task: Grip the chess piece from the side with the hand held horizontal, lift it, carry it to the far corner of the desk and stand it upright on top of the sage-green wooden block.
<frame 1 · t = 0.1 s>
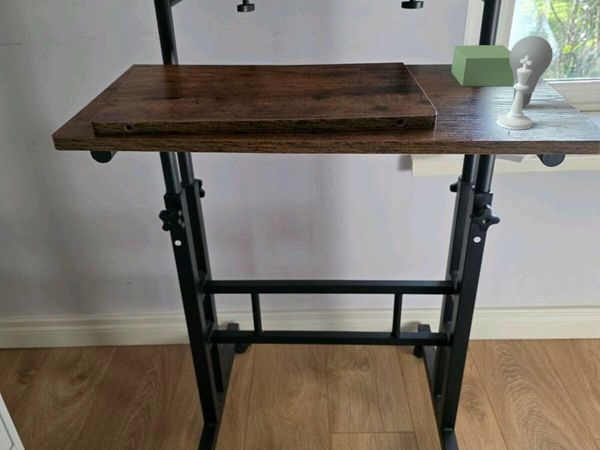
lightbulb: (519, 108, 86), on the table
chess piece: (513, 125, 80), on the table
green block: (480, 78, 99), on the table
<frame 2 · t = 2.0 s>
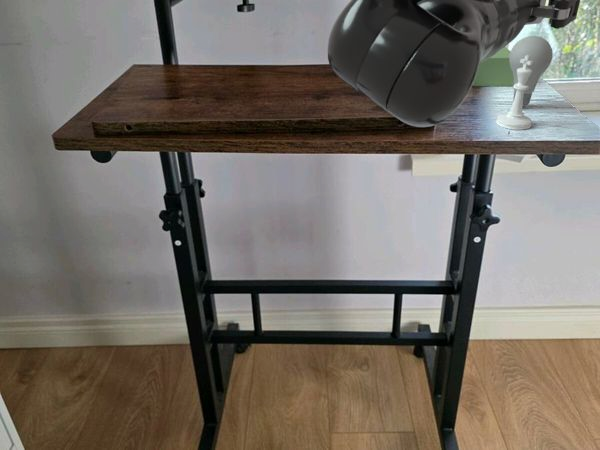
nothing on the table moved.
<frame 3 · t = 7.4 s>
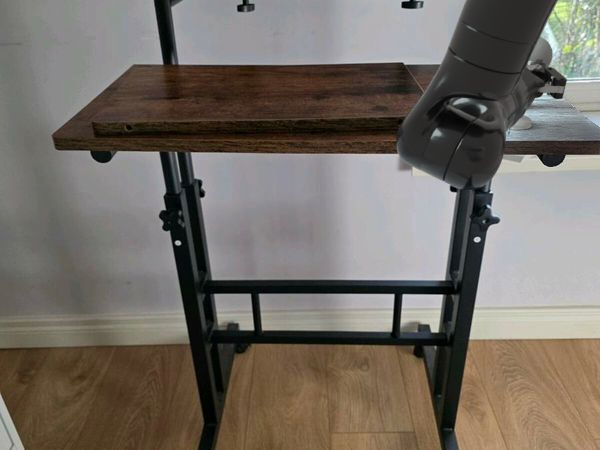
hand: (529, 65, 78), 8 cm above the table, tool horizontal, fingers closed on chess piece
chess piece: (513, 125, 80), on the table, touching gripper
everything else where it was.
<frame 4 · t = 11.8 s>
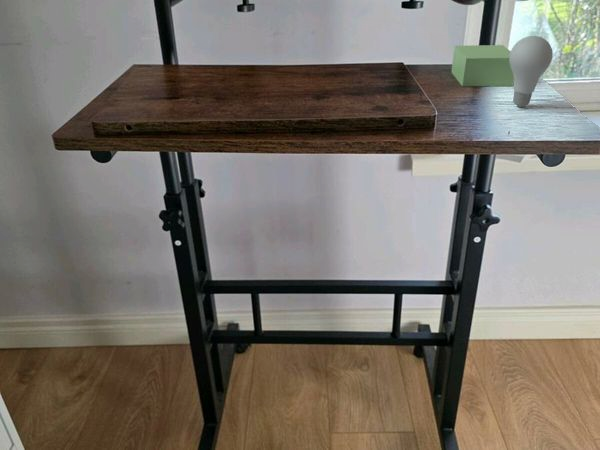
chess piece: (513, 0, 81), point 16 cm above the table, touching gripper
everything else where it was.
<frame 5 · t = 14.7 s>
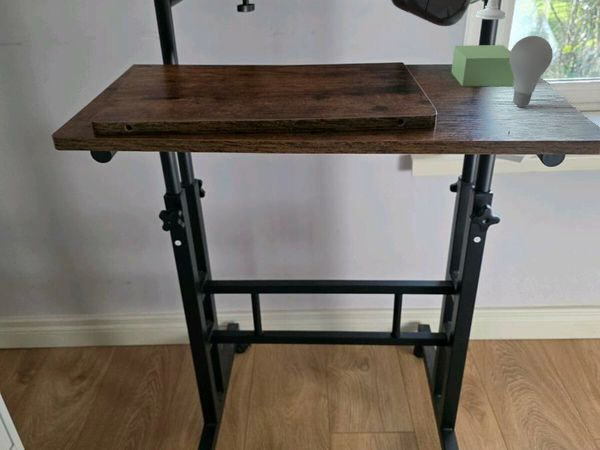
chess piece: (489, 18, 93), point 11 cm above the table, touching gripper
everything else where it was.
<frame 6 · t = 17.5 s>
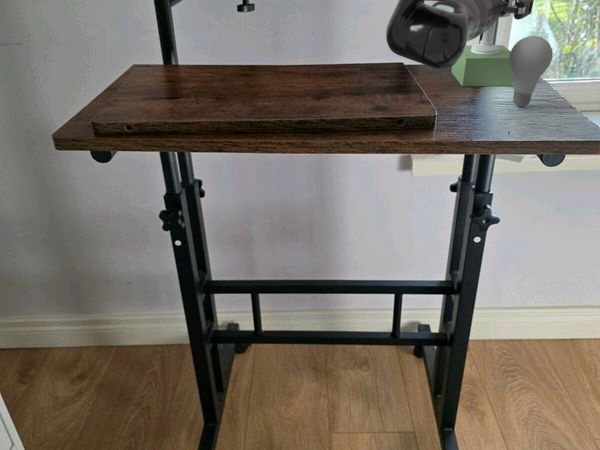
chess piece: (484, 52, 96), point 5 cm above the table, touching green block
green block: (480, 78, 99), on the table, touching chess piece
everything else where it was.
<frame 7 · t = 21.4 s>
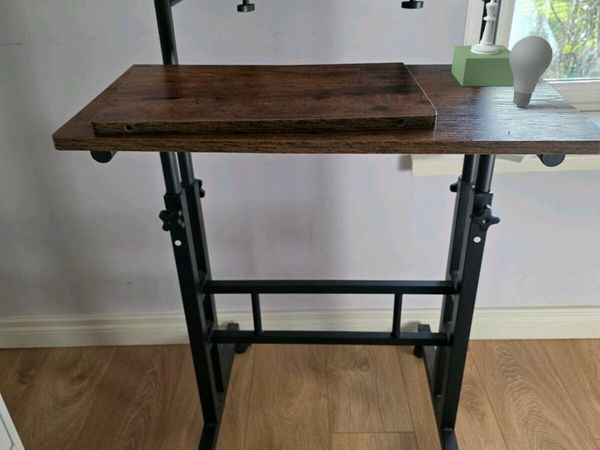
nothing on the table moved.
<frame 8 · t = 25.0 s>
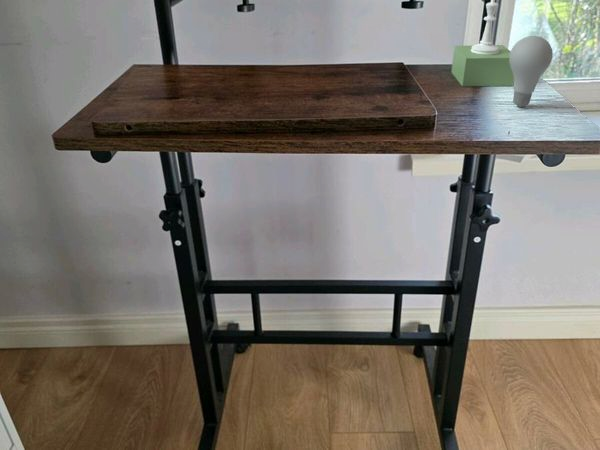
nothing on the table moved.
at the end: chess piece 0.2 cm off-centre on the green block, point 4.8 cm above the green block's base; chess piece tilted 0°; the gripper is holding nothing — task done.
